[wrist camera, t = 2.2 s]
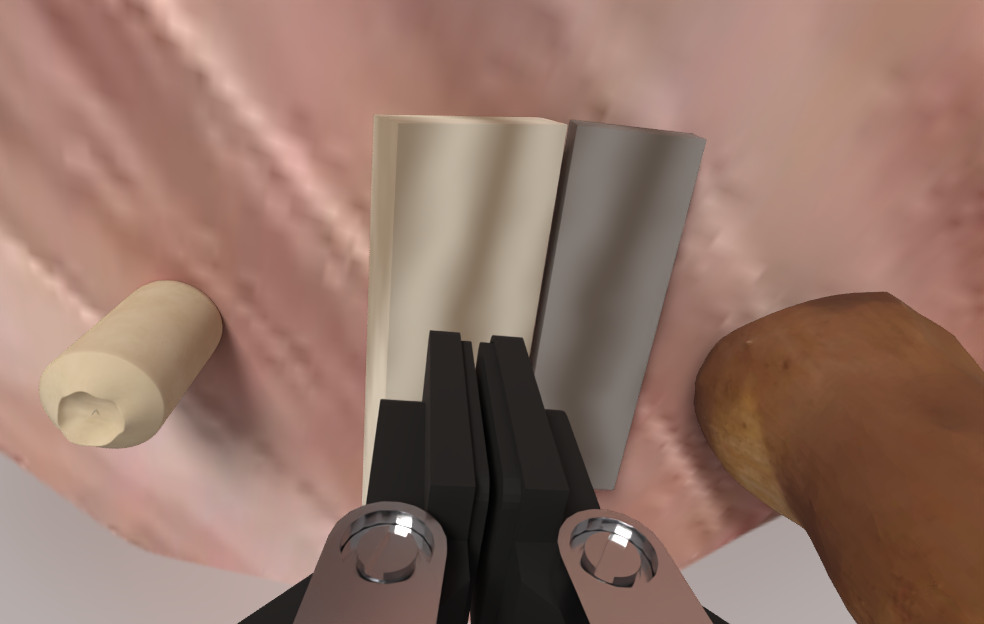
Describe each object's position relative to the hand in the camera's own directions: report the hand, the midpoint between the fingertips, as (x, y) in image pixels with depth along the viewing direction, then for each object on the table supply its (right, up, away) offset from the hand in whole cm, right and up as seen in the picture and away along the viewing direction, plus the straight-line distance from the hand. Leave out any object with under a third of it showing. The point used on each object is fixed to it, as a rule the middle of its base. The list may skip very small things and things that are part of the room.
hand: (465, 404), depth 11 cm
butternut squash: (+19, -1, +29) cm, 35 cm away
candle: (-19, +1, +25) cm, 31 cm away
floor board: (+7, +1, +27) cm, 28 cm away
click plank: (-2, 0, +23) cm, 23 cm away
